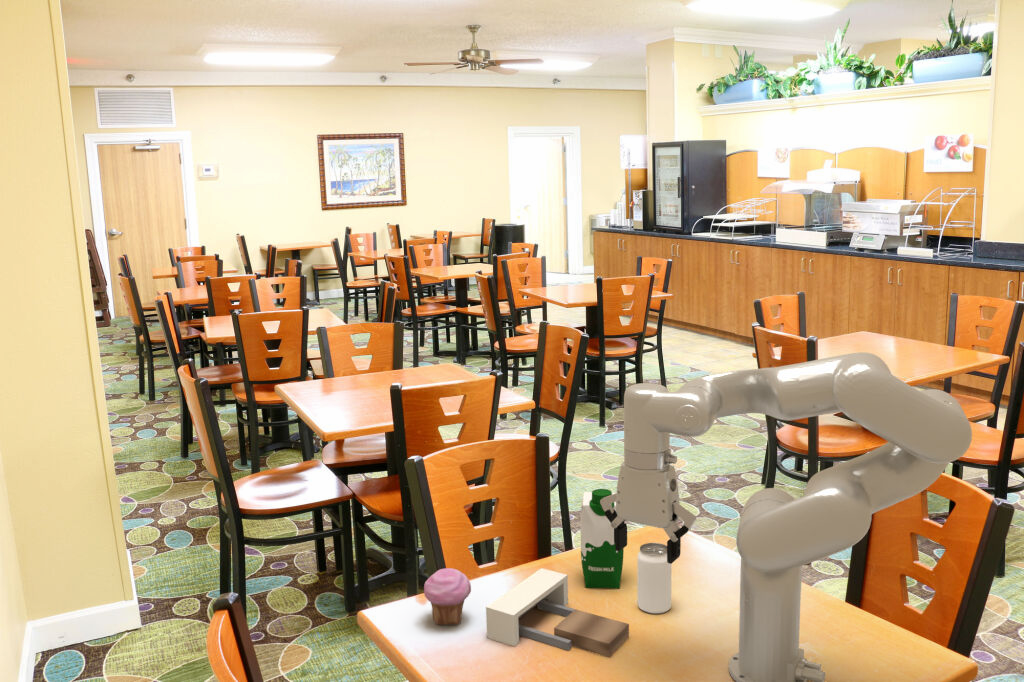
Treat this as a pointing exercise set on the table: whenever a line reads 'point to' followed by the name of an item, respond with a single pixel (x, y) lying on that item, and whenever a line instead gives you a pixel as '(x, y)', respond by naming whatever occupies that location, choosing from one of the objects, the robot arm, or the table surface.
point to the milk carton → (599, 543)
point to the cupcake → (447, 595)
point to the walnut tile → (593, 632)
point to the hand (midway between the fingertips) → (646, 554)
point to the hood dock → (519, 600)
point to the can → (654, 578)
